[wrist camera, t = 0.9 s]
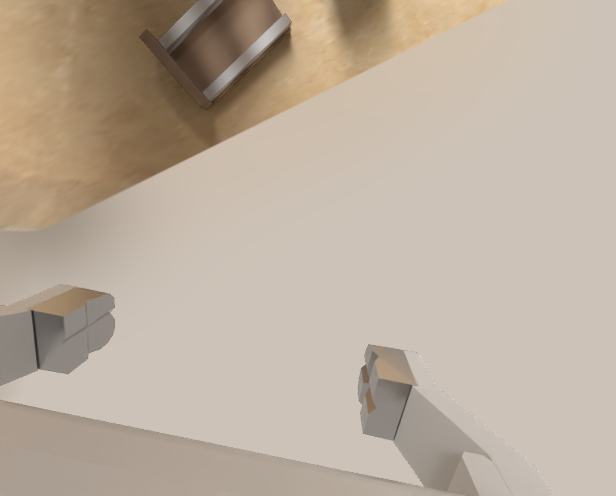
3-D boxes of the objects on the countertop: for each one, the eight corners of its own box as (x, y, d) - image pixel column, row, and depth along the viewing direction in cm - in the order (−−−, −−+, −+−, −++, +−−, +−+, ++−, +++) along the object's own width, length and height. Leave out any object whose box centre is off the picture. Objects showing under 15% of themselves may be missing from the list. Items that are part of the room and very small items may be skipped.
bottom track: (207, 110, 42) (200, 106, 36) (156, 51, 38) (138, 36, 32) (290, 31, 40) (297, 13, 34) (245, -38, 37) (243, -71, 31)
